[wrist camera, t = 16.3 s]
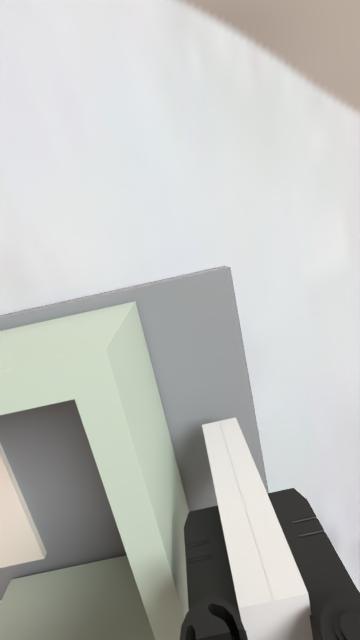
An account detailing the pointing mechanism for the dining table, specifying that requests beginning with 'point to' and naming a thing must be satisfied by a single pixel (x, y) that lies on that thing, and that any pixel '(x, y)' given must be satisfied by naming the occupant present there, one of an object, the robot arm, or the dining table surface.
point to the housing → (117, 476)
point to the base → (71, 440)
